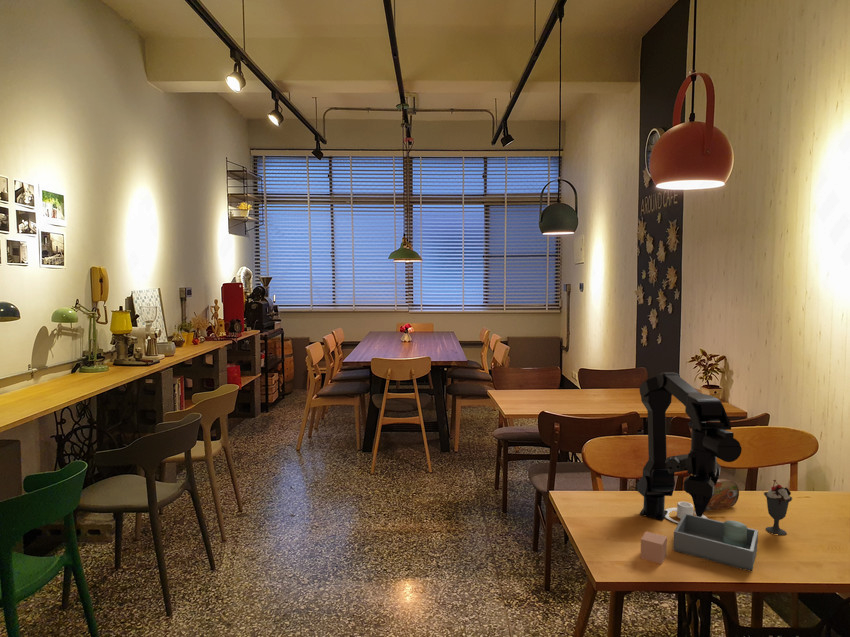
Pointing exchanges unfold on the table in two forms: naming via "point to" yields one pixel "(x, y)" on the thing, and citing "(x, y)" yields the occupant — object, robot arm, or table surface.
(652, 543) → the cube
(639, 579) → the table surface
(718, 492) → the tin
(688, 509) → the candle holder
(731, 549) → the tote
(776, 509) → the sundae
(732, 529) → the cylinder
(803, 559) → the table surface
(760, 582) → the table surface
